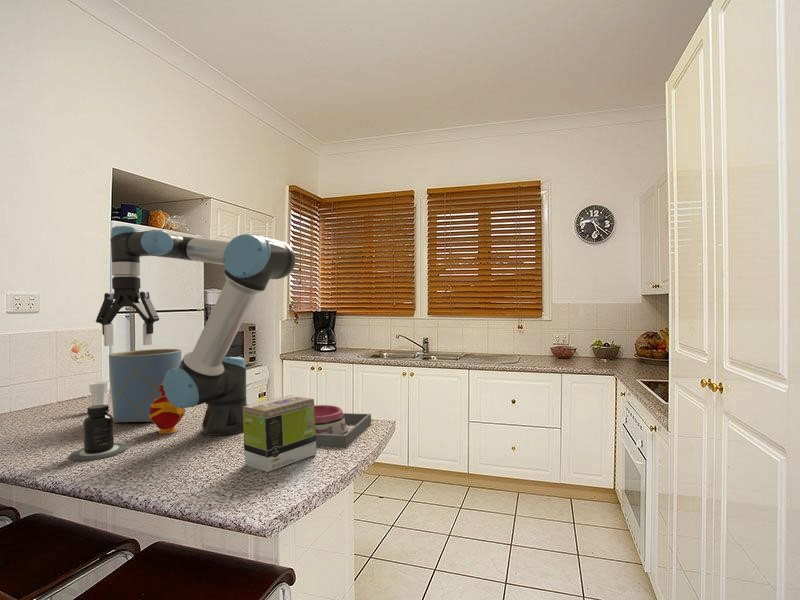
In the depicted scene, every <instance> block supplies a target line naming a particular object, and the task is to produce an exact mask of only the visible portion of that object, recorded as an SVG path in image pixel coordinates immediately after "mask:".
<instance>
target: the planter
mask: <svg viewBox="0 0 800 600" xmlns="http://www.w3.org/2000/svg"><path fill="white" fill-rule="evenodd" d="M181 361H182V349H178V348H159V349H158V348H157V349H153V348H152V349H139V350H130V351H129V350H128V351H121V352H113V353H110V354H109V355H108V365H109V382H110V391H111V393H110V394H111V402H112V403H111V404H112V405H111V406H112V417H113V423H115V424H116V423H139V422H140V423H145V422H147V423H154V422H153V421H152V420H151V419H150V416H149V415H150V413H149V412H150V407H151V404H152V403H153V402H154V399H156V398H159V397H161V396H162V392H160V391H159V388H160V385H159V384H163V381H164V377H165V375H166V373H167V372H168V371H169V370H171V369H173V368H175V367H177V368H178V367H179V365H180V363H181Z"/></svg>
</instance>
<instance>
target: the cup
mask: <svg viewBox="0 0 800 600" xmlns="http://www.w3.org/2000/svg"><path fill="white" fill-rule="evenodd" d="M88 385H89V386H88V388H89V389H88V390H89V392H90V395H91V406H95V405H108V406H109V391H111V384H110V380H109V381H108V380H105V381H104V380H103V381H94V382H90V383H88Z"/></svg>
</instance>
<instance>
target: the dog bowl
mask: <svg viewBox="0 0 800 600" xmlns="http://www.w3.org/2000/svg"><path fill="white" fill-rule="evenodd" d="M314 412H315V431H316V434H334V435H345V434H346V433H347V432H348V431H349V428H348V426H347V423H346V422H345V418H344V414H343V413H344V412H343V410H342V407H339V406H336V405H328V404H316V405H315V404H314Z"/></svg>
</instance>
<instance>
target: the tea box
mask: <svg viewBox="0 0 800 600" xmlns="http://www.w3.org/2000/svg"><path fill="white" fill-rule="evenodd" d="M314 405H315V400H314V398H310V397H303V396H302V397H301V396H295V395H292V394H291V395H285V396H281V397H278V398H274V399H269V400H265V401H260V402H256V403H252V404H251V403H250V404H247V406H243V451H244V454H243V456H244V464H245V465H246V466H249V467H251V468H254V469H256V470H260V471H263V472H265V473H270V472H272V471H275V470H278V469H280V468H283V467H285V466H288V465H290V464H294V463H296V462H299V461H301V460H305V459H307V458H311V457H312V456H316V455H317V453H318V452H317V446H316V431H315V412H314Z"/></svg>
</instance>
